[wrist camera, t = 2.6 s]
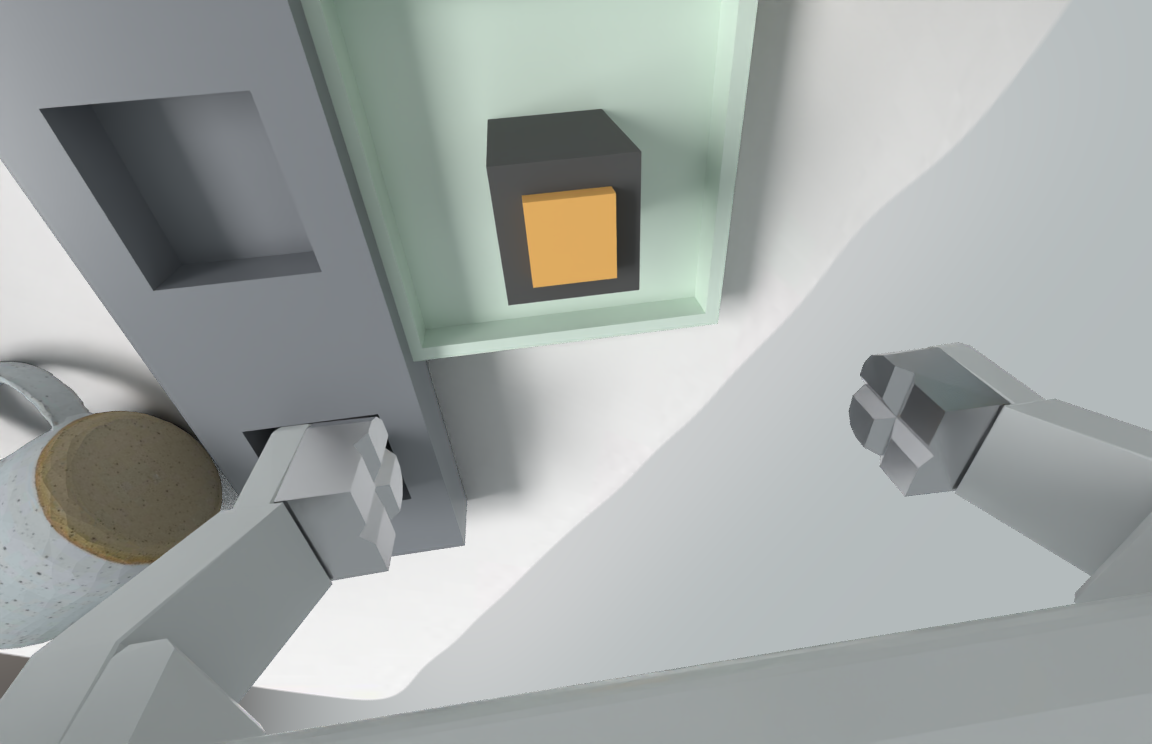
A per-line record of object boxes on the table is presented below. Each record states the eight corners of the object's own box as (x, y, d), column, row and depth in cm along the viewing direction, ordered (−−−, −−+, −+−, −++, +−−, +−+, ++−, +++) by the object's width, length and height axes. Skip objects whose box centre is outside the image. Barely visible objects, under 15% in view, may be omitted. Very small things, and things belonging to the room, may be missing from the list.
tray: (303, -42, 15) (282, -45, 13) (741, -73, 16) (768, -79, 14) (416, 337, 23) (411, 361, 21) (703, 302, 24) (717, 323, 22)
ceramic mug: (260, 463, 26) (186, 606, 20) (150, 528, 28) (51, 679, 22) (32, 311, 20) (-173, 447, 14) (-88, 406, 22) (-319, 565, 16)
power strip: (-356, -562, 9) (-1856, -1539, 3) (152, -564, 10) (-354, -1391, 4) (308, 523, 29) (260, 663, 23) (466, 500, 30) (460, 630, 24)
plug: (487, 119, 18) (485, 173, 12) (601, 108, 18) (647, 157, 13) (504, 230, 20) (509, 315, 15) (604, 219, 20) (643, 299, 15)
